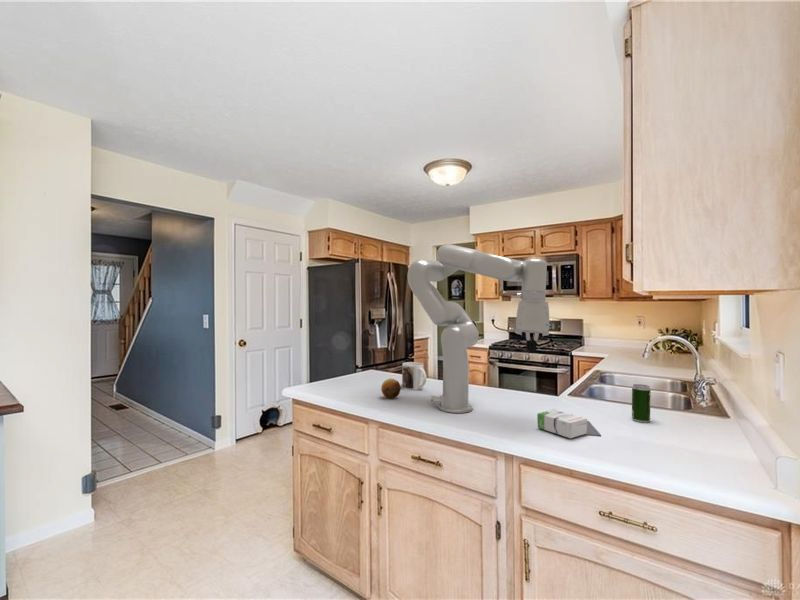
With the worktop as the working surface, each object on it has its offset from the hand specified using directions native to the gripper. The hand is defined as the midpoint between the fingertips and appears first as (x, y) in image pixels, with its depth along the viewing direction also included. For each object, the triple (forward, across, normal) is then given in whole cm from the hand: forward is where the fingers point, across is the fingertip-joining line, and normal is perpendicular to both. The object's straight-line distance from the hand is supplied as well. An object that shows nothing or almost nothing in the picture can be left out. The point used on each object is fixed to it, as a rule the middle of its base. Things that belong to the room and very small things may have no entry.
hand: (531, 352), depth 128 cm
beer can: (+23, +38, +12) cm, 46 cm away
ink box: (+21, +5, -2) cm, 21 cm away
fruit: (+26, -52, +20) cm, 61 cm away
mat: (+23, +14, -1) cm, 27 cm away
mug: (+26, -46, +40) cm, 66 cm away
